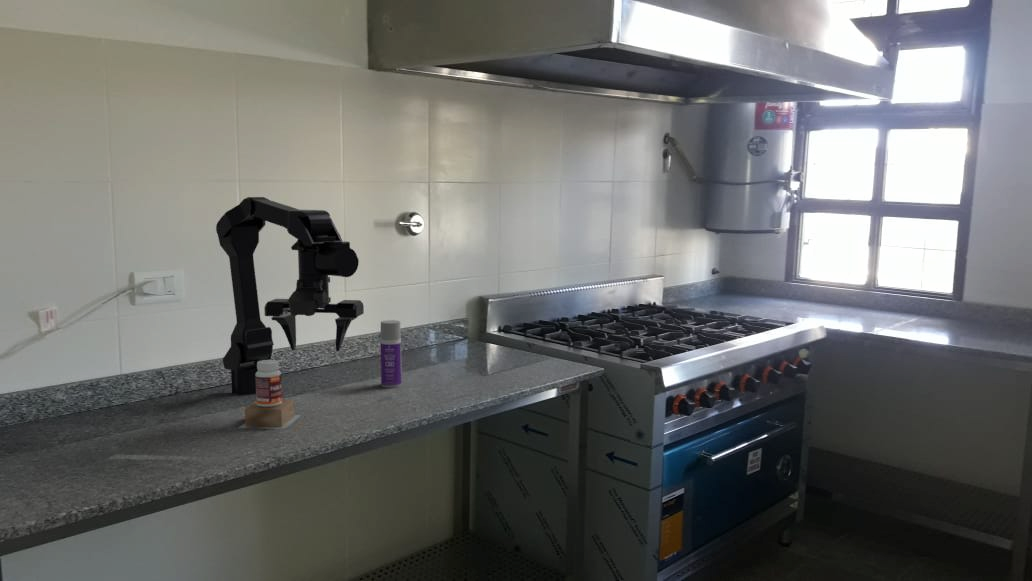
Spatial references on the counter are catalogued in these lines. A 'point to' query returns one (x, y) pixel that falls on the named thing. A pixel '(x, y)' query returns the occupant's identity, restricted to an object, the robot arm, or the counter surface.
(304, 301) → the robot arm
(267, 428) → the plate
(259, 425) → the walnut block
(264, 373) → the pill bottle
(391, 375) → the container
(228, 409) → the counter surface
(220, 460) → the counter surface
